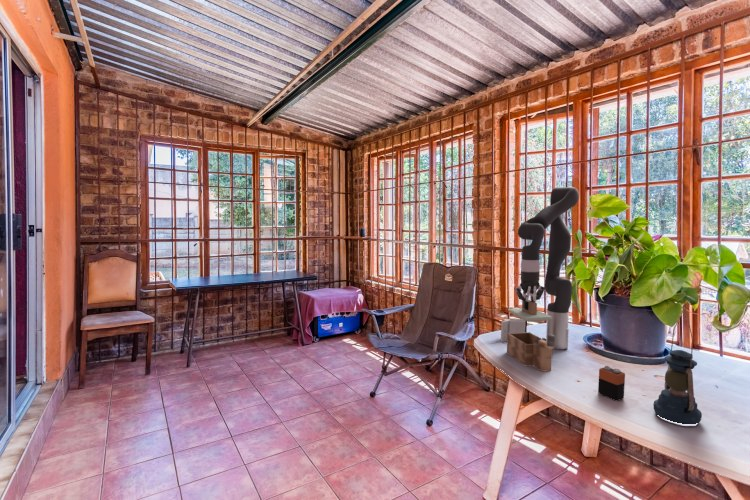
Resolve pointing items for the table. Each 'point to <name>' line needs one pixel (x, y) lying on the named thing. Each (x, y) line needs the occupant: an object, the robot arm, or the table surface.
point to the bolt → (548, 341)
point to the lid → (530, 313)
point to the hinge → (512, 327)
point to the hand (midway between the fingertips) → (529, 309)
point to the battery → (611, 383)
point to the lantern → (678, 388)
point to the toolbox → (529, 350)
